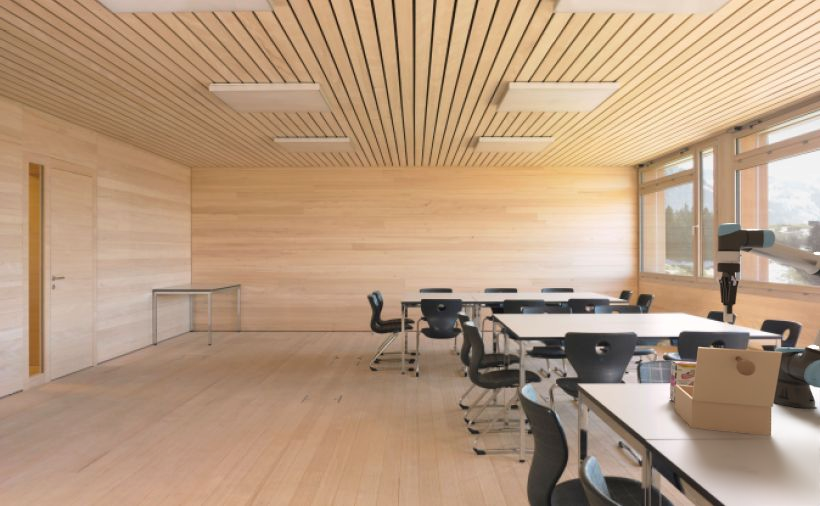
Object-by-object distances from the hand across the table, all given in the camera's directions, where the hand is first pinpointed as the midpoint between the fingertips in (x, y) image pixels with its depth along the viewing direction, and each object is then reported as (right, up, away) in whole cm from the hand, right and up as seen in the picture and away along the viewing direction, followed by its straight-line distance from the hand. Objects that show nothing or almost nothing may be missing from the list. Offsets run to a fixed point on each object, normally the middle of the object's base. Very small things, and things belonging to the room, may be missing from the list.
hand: (727, 321), depth 189 cm
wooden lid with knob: (-17, -14, -29) cm, 36 cm away
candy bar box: (-12, -35, +8) cm, 37 cm away
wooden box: (-14, -34, -17) cm, 40 cm away
